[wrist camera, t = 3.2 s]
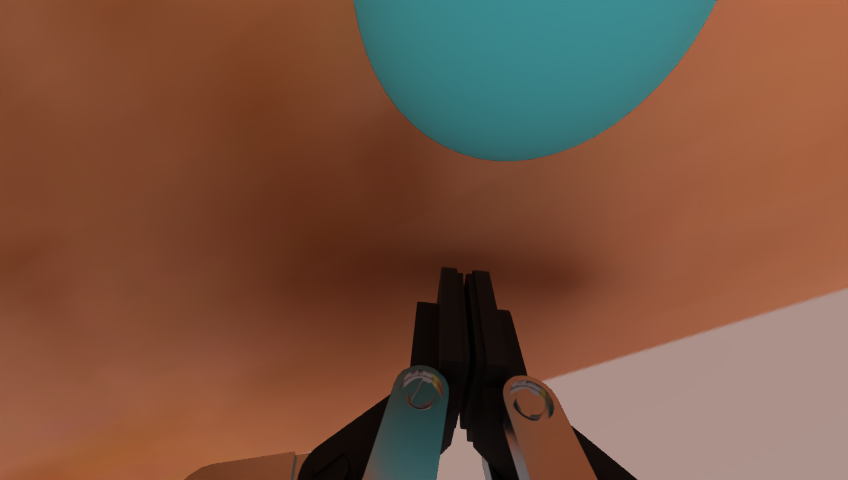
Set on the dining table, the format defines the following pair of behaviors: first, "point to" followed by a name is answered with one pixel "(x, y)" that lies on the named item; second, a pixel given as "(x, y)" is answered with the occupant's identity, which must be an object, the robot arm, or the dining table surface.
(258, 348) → the dining table surface
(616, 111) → the ball
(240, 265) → the dining table surface
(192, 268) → the dining table surface
